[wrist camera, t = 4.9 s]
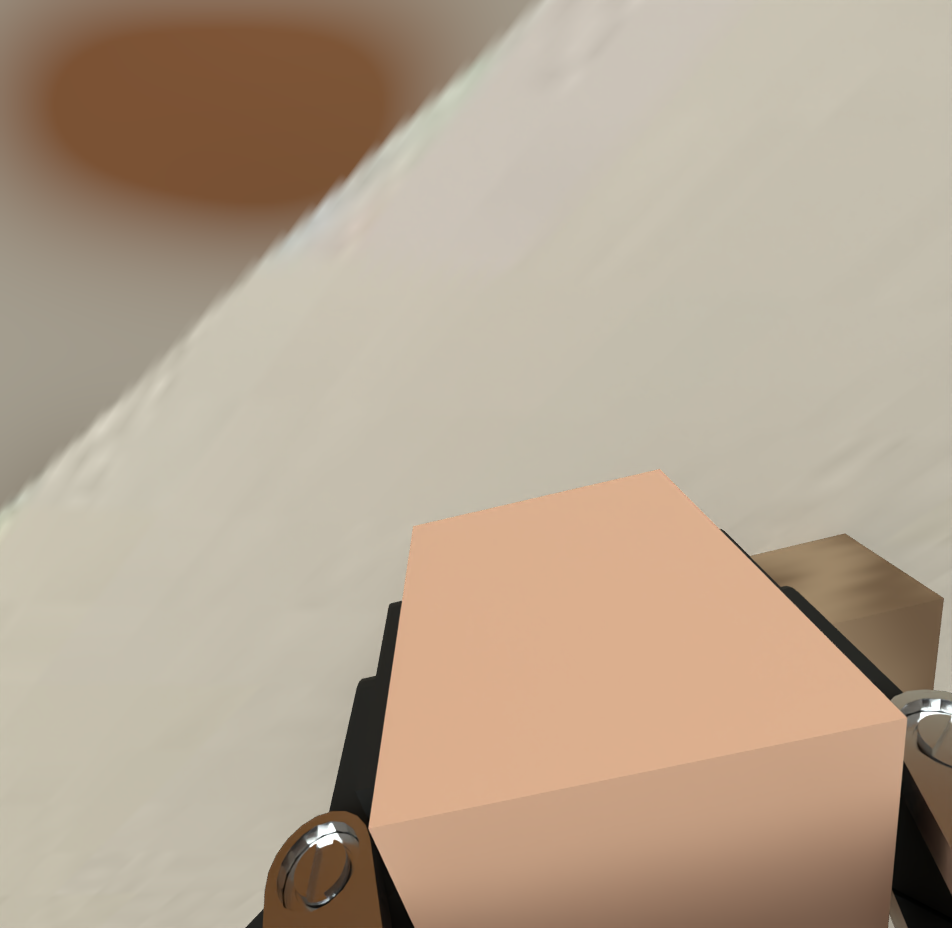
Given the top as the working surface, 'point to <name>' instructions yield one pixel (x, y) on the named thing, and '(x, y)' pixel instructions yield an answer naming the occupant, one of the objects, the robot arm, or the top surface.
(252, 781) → the top surface
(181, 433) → the top surface
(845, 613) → the walnut plinth
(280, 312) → the top surface
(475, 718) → the peach block
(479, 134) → the top surface
